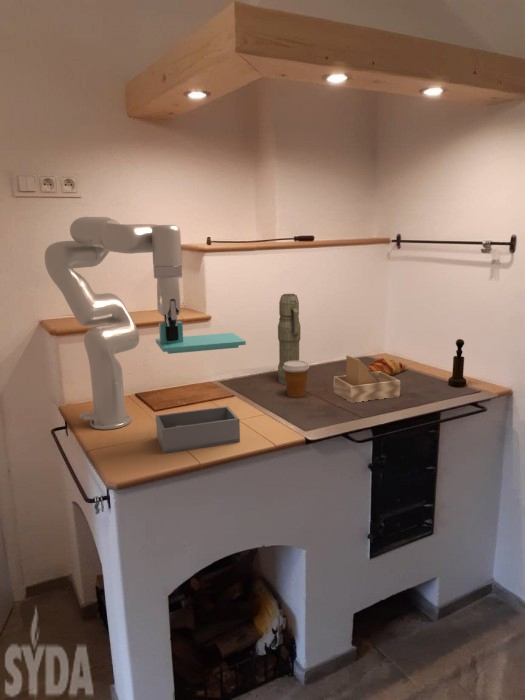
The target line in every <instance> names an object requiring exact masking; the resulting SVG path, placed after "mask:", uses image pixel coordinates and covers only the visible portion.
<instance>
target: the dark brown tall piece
mask: <svg viewBox="0 0 525 700" xmlns="http://www.w3.org/2000/svg"><path fill="white" fill-rule="evenodd" d="M455 345H456V348H457V350H456V351H455V352H456V355H454V356H452V357H453V358H452V359H453V361H452V375H451V376H450V377H449V378H448V380H447V385H448V386H450V387H452V388H464V387H467V379H466V378H465V377H464V370H465V369H464V368H465V367H464V366H465V357H464V356H462V355H463V353H464V351H463V349H462V348H463V347H464V346H465V340H463V339H461V338H458V339H456V340H455Z"/></svg>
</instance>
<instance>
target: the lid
mask: <svg viewBox="0 0 525 700" xmlns="http://www.w3.org/2000/svg"><path fill="white" fill-rule="evenodd" d="M166 326H167V322H164V321H163V322H158V331H159V338H155V343H156V344H157V346H158V347H159V349H160V350H161V351H162V353H167V354H169V355H171V354H180V353H181V354H182V353H191V352H192V353H193V352H202V351H203V352H204V351H216V350H226V349H227V350H229V349H237V348H238V349H239V347H240V346H246V344H247V343H246V340H244V338H241V337H240V336H238V335H236V334H235V333H234V332H226V333H216V334H215V333H213V334H199V335H198V334H197V335H189V336H188V335H187V336H184V332H183V331H184V329H183V322H182V321H179V320H177V326H178V340H177V341H167V340H166Z"/></svg>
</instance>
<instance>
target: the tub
mask: <svg viewBox="0 0 525 700" xmlns="http://www.w3.org/2000/svg"><path fill="white" fill-rule="evenodd" d="M155 425H156V426H155V429H156V438H157V441H158V443H159V446H160V449H161V451H162V453H163V455H165V454H170V453H175V452H176V453H177V452H183V451H189V450H196V449H197V450H198V449H203V448H204V449H205V448H209V447H214V446H216V447H217V446H222V445H223V446H224V445H229V444H235V443H240V442H241V429H240V428H241V427H240V426H241V425H240V418H239V416H237V414H236V413H235V412H234V411H233V410H232V409H231V408H230V406H228V405H226V406H218V407H211V408H204V409H203V408H202V409H195V410H186V411H179V412H172V413H164V414H157V415H155Z"/></svg>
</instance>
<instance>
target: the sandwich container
mask: <svg viewBox="0 0 525 700" xmlns="http://www.w3.org/2000/svg"><path fill="white" fill-rule="evenodd" d="M345 357H346V358H345V359H346V360H345V361H346V364H345V366H346V367H345V375H346V382H347V383H348V384H350V385H352V386H356V385H364V384H372V383H380V381H379V380H378V379H377V378H376V377H375V376H374V375H373V374H372V373H371V372H370V371H369V369H368V368H367V367H368V366H366V365H365V364H364V363H363V362H362V361H361V360H360V359H359V358H357V357H354V356H351V355H346V356H345Z"/></svg>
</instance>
